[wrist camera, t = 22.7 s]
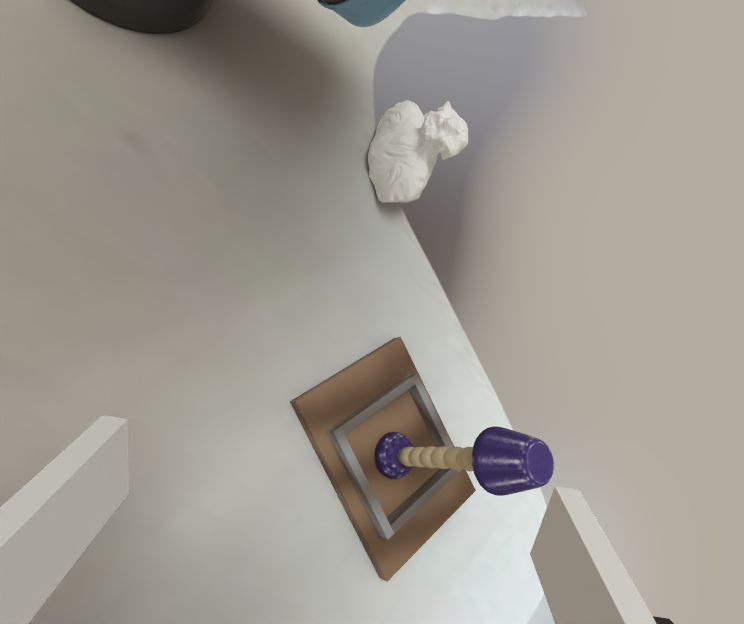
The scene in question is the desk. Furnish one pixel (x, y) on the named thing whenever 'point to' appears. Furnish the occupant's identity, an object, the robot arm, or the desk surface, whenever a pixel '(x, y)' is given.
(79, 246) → the desk surface
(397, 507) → the plate
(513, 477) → the toy lamp
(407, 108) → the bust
